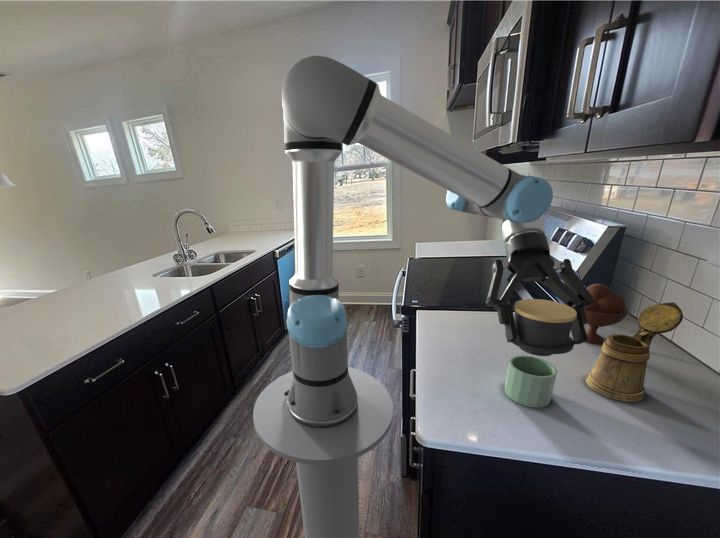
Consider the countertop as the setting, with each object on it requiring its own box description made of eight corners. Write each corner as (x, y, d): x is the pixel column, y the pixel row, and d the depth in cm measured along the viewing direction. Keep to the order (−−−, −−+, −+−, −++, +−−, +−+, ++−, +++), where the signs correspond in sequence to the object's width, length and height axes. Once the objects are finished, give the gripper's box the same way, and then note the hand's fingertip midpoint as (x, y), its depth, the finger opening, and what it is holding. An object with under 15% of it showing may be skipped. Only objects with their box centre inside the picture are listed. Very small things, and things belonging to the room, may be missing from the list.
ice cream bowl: (563, 341, 84) (576, 288, 79) (567, 326, 92) (580, 277, 87) (617, 353, 78) (635, 296, 72) (616, 335, 86) (633, 283, 80)
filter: (508, 359, 59) (516, 317, 56) (499, 332, 68) (505, 295, 65) (580, 367, 55) (593, 323, 52) (559, 338, 65) (569, 299, 62)
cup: (508, 403, 64) (513, 374, 61) (501, 380, 71) (506, 353, 68) (555, 410, 61) (563, 380, 58) (543, 386, 68) (550, 358, 65)
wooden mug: (672, 392, 64) (706, 310, 57) (620, 406, 61) (649, 321, 55) (623, 368, 72) (648, 294, 65) (575, 380, 69) (596, 304, 63)
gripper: (576, 249, 68) (604, 348, 59) (462, 251, 72) (473, 344, 64) (598, 228, 61) (634, 337, 53) (471, 231, 65) (484, 333, 57)
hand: (546, 341), depth 58 cm, fingers closed on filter, 11 cm apart
